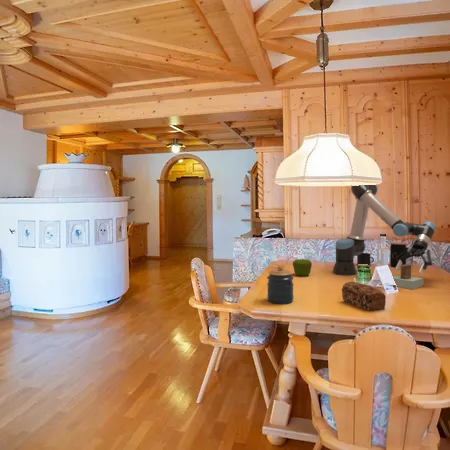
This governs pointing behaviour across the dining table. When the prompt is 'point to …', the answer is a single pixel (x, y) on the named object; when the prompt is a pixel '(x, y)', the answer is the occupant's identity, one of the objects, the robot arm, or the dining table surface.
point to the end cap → (408, 282)
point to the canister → (280, 286)
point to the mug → (364, 259)
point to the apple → (302, 267)
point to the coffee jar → (396, 252)
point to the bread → (363, 296)
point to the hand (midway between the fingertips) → (408, 271)
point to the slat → (405, 271)
